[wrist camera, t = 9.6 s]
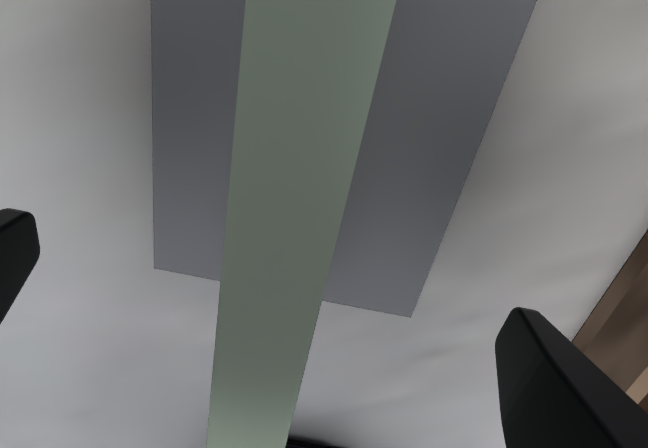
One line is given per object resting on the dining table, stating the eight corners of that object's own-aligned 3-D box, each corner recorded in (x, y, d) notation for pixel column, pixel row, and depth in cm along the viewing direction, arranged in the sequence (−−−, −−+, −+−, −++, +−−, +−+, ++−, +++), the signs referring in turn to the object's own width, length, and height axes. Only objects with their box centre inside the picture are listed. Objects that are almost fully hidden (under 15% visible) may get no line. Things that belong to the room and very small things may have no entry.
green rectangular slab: (308, 261, 21) (263, 533, 12) (272, 254, 21) (199, 522, 12) (393, -131, 13) (451, -226, 4) (336, -144, 13) (269, -269, 4)
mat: (410, 310, 23) (410, 317, 22) (158, 261, 22) (154, 268, 22) (598, -172, 13) (606, -175, 13) (155, -277, 12) (147, -284, 12)
